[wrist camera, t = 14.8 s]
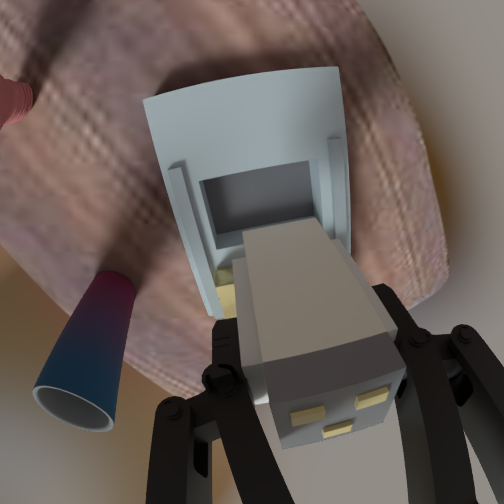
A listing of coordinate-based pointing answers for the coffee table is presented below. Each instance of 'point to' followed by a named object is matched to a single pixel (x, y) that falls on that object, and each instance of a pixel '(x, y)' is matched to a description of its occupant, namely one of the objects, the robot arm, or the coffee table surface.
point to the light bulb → (14, 101)
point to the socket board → (251, 162)
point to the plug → (317, 336)
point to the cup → (89, 357)
